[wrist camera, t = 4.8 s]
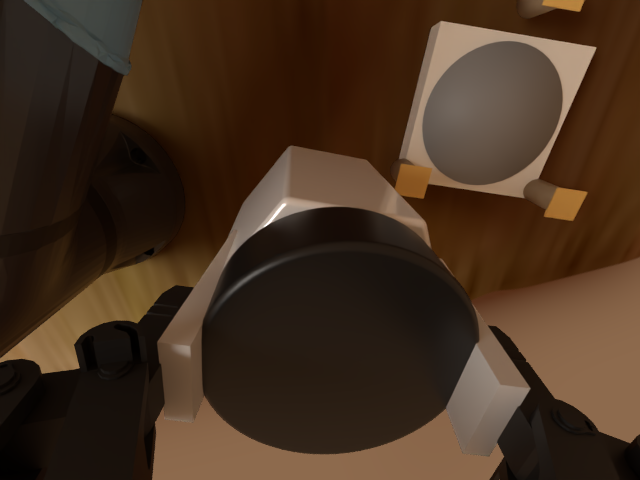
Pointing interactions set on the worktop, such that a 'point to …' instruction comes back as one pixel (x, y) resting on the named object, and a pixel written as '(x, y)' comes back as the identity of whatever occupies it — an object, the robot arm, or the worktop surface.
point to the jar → (332, 312)
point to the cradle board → (492, 112)
